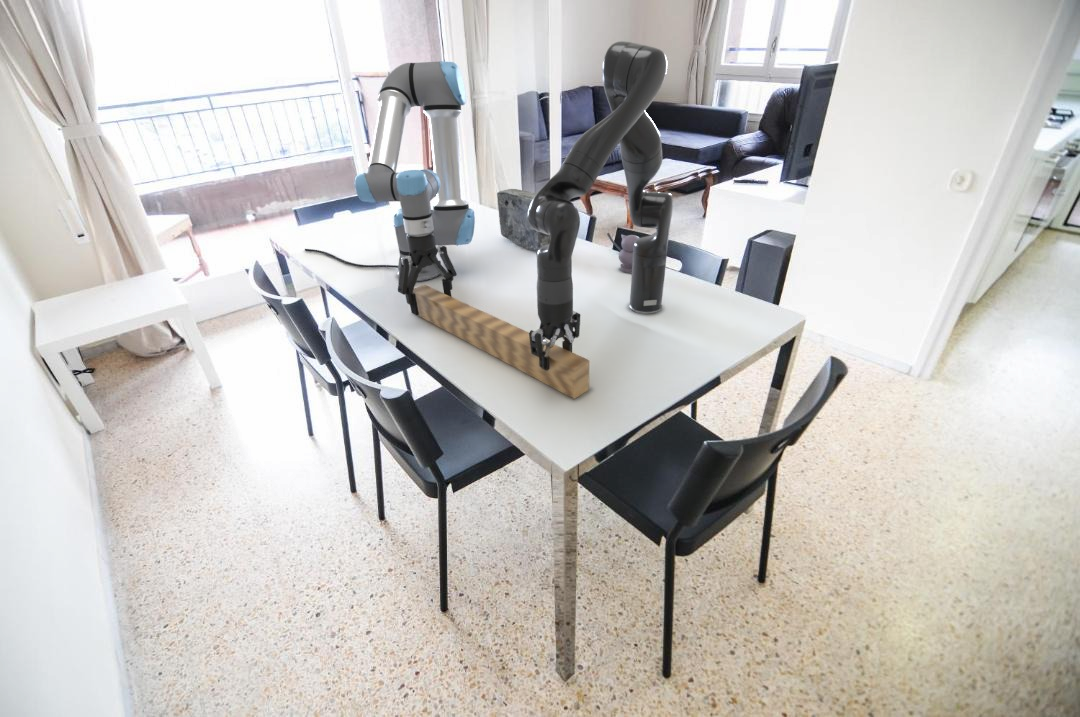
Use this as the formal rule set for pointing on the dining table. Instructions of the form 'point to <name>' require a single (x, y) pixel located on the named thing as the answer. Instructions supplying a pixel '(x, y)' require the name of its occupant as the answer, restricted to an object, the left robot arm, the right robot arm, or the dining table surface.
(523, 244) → the concrete block
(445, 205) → the left robot arm
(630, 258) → the cat figurine
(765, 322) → the dining table surface
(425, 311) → the beam
